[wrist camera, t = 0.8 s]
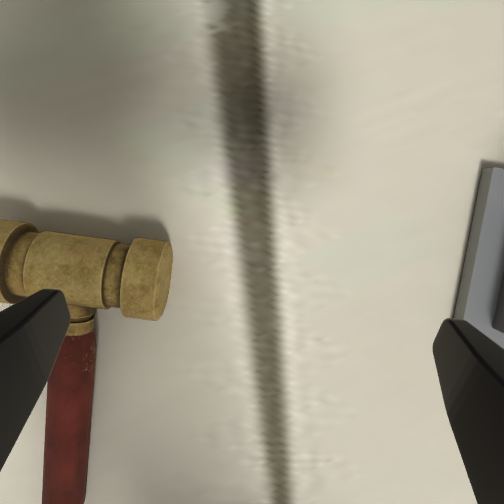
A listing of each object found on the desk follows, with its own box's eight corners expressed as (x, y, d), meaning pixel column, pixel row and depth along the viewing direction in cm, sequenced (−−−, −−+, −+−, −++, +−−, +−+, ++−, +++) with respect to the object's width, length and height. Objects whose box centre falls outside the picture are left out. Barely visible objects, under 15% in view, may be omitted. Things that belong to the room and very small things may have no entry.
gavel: (128, 582, 23) (-42, 571, 22) (145, 516, 27) (4, 505, 27) (162, 250, 19) (-43, 223, 18) (175, 236, 24) (11, 214, 23)
